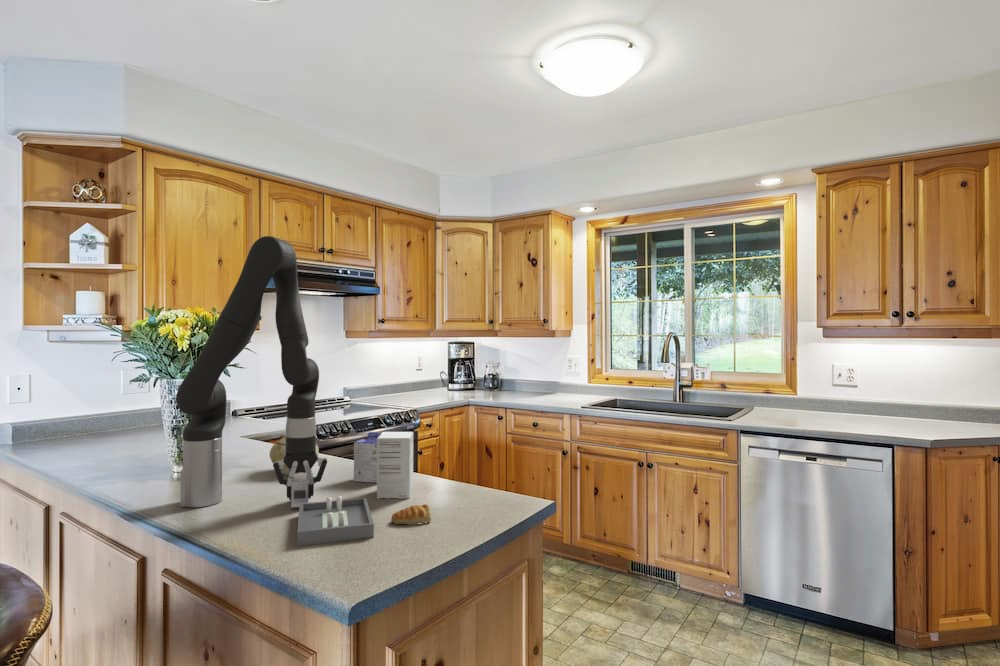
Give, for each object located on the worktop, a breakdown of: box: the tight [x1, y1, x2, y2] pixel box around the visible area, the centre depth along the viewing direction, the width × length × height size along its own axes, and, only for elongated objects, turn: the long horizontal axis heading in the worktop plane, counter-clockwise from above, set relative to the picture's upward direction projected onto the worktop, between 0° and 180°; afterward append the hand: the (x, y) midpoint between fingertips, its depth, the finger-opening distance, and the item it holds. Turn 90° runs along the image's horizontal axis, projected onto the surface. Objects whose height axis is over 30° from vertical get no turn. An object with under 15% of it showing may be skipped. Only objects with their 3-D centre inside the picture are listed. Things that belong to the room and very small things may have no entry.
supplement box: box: [376, 431, 414, 500], centre depth 153 cm, size 10×9×17 cm
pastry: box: [390, 503, 432, 526], centre depth 131 cm, size 9×7×4 cm
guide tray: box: [296, 495, 375, 547], centre depth 128 cm, size 16×20×5 cm
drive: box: [290, 473, 309, 508], centre depth 143 cm, size 4×9×6 cm, turn 19°
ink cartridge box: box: [353, 431, 380, 484], centre depth 166 cm, size 10×6×14 cm, turn 78°
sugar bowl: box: [269, 434, 320, 476], centre depth 176 cm, size 20×15×15 cm
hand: (300, 498), depth 143 cm, fingers closed on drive, 4 cm apart
